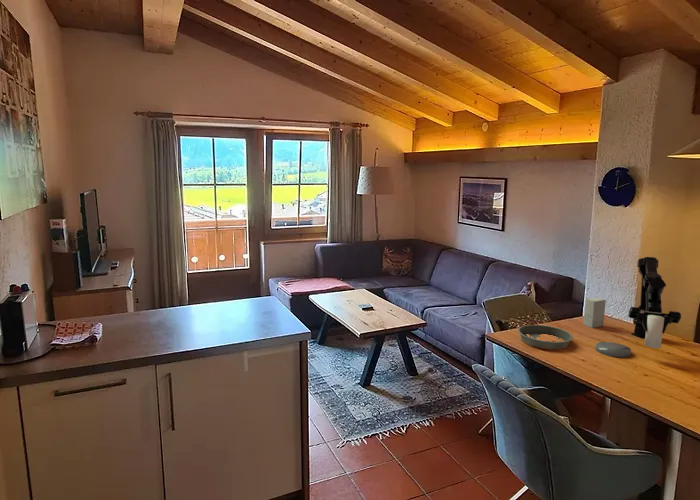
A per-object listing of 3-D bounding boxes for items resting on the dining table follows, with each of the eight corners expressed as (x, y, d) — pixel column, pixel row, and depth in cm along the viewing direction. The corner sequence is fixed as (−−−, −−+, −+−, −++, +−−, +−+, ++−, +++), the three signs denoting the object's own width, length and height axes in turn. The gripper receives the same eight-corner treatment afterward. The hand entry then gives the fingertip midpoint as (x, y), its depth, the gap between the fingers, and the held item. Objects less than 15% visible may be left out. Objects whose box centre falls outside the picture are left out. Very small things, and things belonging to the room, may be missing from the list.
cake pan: (530, 351, 210) (530, 342, 209) (509, 333, 234) (510, 324, 234) (582, 351, 211) (583, 341, 210) (557, 332, 235) (557, 324, 235)
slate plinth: (611, 344, 219) (611, 340, 218) (638, 355, 206) (638, 351, 205) (588, 348, 214) (589, 343, 214) (614, 359, 201) (615, 354, 201)
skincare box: (594, 323, 250) (597, 296, 248) (603, 326, 245) (606, 299, 242) (582, 324, 247) (585, 298, 245) (591, 328, 242) (594, 300, 239)
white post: (651, 342, 204) (654, 314, 202) (664, 347, 198) (667, 318, 196) (641, 344, 202) (644, 315, 200) (653, 348, 196) (657, 319, 194)
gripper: (674, 312, 208) (676, 343, 200) (626, 307, 216) (626, 337, 208) (680, 299, 200) (682, 332, 192) (630, 295, 207) (630, 325, 199)
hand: (654, 332), depth 198 cm, fingers closed on white post, 6 cm apart
